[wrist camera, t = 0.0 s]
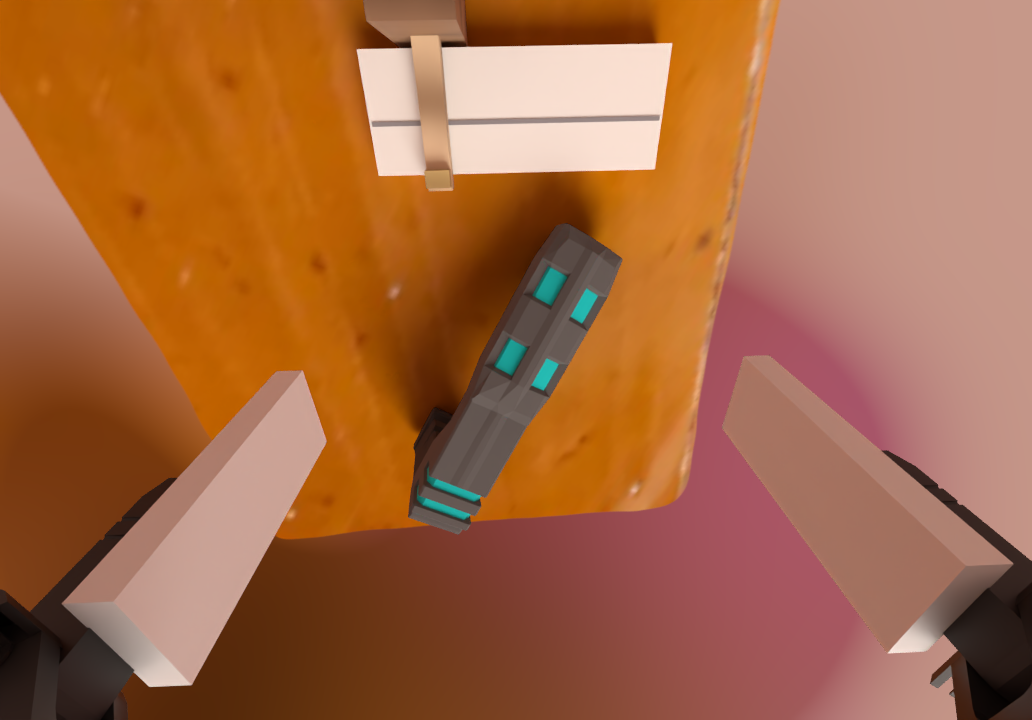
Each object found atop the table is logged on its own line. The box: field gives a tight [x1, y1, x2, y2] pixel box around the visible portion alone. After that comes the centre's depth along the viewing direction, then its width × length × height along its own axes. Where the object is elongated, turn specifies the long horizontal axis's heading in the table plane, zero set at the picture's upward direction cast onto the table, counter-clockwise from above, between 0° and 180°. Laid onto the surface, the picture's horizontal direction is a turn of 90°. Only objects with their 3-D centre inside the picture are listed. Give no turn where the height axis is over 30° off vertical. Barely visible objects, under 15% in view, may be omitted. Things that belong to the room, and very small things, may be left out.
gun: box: [408, 223, 622, 534], centre depth 40 cm, size 7×29×15 cm, turn 149°
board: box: [357, 43, 672, 176], centre depth 31 cm, size 8×22×3 cm, turn 91°
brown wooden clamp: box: [363, 0, 468, 191], centre depth 27 cm, size 15×5×10 cm, turn 1°
